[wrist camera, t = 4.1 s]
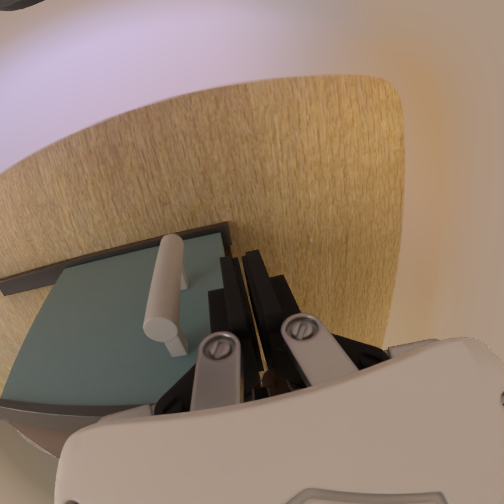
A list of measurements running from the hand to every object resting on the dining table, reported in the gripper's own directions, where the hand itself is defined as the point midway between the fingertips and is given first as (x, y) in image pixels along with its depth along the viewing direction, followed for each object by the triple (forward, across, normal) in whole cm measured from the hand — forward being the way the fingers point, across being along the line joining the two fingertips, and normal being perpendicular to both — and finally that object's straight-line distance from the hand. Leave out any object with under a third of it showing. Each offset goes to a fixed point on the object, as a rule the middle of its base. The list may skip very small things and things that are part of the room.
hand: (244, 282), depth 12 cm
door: (+10, +8, +1) cm, 13 cm away
